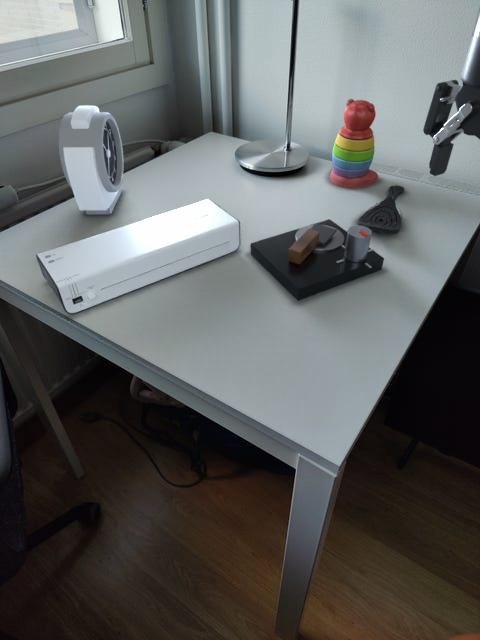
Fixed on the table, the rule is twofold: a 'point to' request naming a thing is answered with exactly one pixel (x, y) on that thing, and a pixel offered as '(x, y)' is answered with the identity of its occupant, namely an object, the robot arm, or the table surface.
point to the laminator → (138, 254)
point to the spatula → (310, 242)
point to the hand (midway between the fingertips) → (463, 186)
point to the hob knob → (357, 243)
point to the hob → (311, 264)
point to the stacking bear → (355, 146)
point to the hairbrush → (384, 213)
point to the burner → (330, 245)
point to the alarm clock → (92, 158)
